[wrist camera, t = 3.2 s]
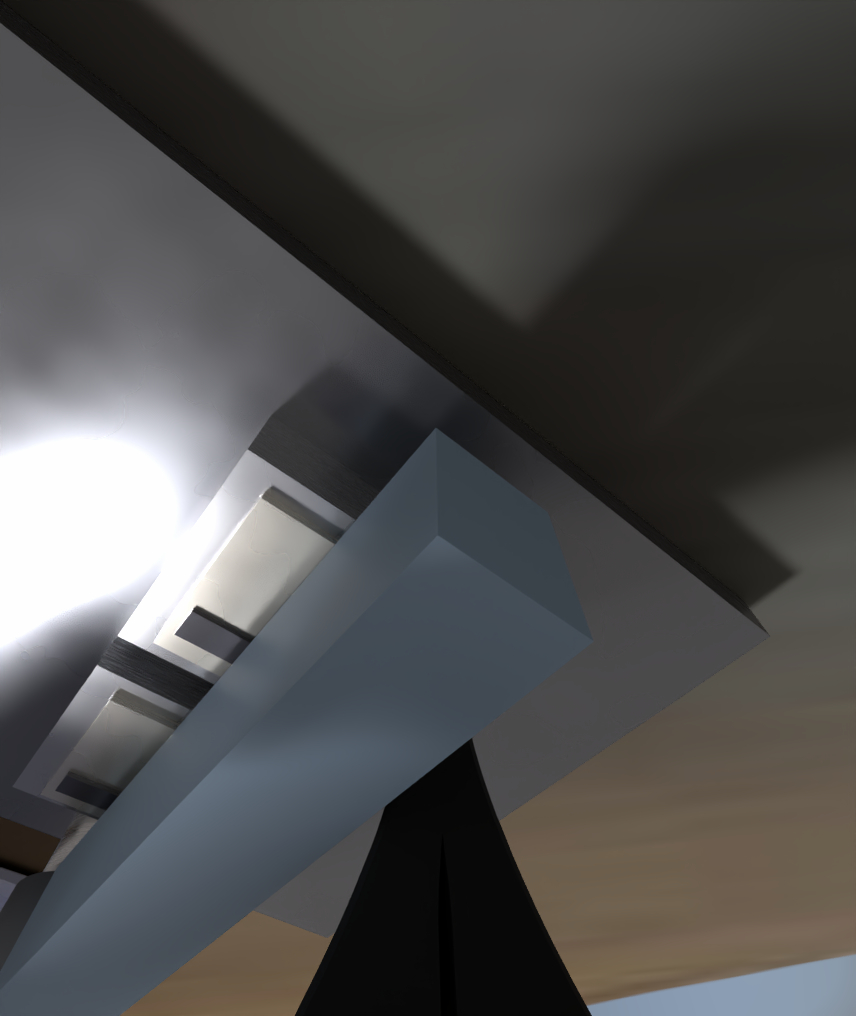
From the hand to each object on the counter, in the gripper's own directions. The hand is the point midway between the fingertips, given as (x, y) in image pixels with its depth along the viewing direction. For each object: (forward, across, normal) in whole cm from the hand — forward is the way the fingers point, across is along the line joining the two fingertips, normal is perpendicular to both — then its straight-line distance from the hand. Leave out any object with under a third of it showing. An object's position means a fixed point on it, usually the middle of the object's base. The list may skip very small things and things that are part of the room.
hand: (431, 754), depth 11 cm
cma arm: (+1, +4, +2) cm, 5 cm away
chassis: (+4, +5, +1) cm, 7 cm away
